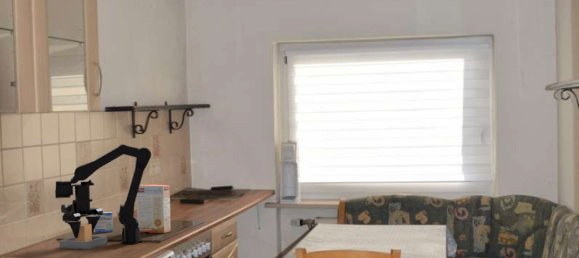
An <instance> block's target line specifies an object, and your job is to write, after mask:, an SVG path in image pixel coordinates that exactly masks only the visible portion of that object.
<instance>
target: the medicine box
mask: <svg viewBox="0 0 579 258" xmlns="http://www.w3.org/2000/svg"><path fill="white" fill-rule="evenodd" d="M100 216H101V217H100V219H99V220H98V222H97V224H96V227H95V229H94V233H95V234H100V233H99V232H103V233H113V232H114V221H113V218H114V217H113V212H112V211H108V212H107V211H103V215H100Z"/></svg>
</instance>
